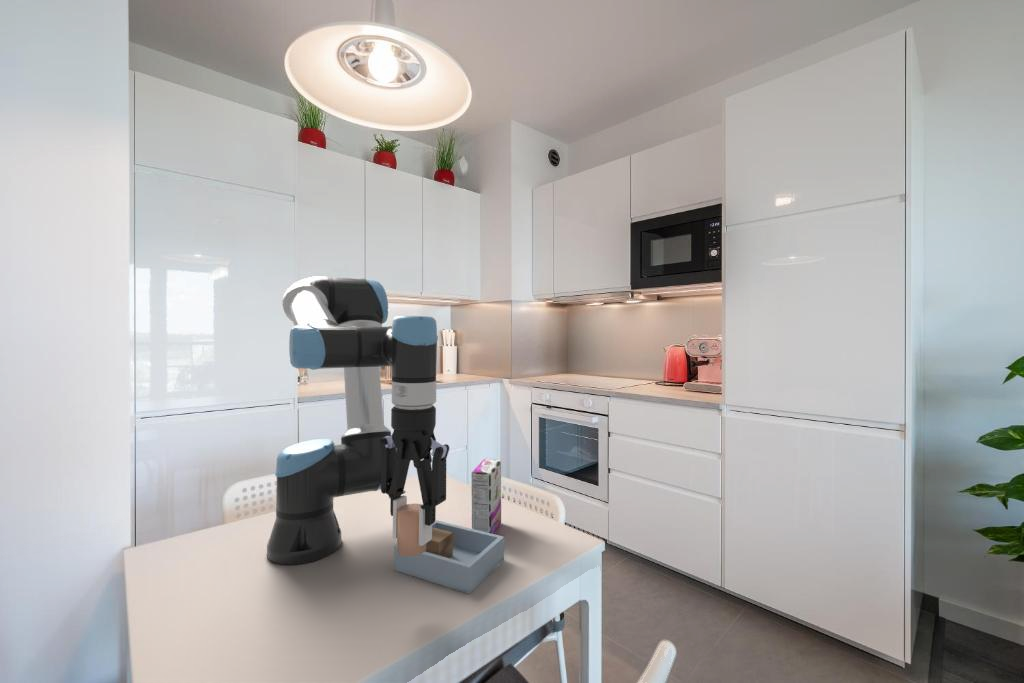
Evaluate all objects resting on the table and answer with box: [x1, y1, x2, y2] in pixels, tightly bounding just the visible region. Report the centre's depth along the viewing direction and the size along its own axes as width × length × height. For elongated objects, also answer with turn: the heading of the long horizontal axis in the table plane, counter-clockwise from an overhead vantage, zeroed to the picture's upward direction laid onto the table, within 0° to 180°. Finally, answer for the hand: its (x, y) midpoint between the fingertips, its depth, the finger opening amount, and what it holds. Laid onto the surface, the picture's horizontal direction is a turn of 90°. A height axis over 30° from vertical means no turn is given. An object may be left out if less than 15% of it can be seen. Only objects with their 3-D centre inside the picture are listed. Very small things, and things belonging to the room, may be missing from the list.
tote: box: [393, 519, 505, 595], centre depth 92 cm, size 18×14×5 cm
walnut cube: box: [425, 528, 453, 558], centre depth 94 cm, size 5×5×5 cm
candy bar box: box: [471, 458, 502, 535], centre depth 108 cm, size 11×5×16 cm, turn 168°
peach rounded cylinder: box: [396, 503, 427, 556], centre depth 77 cm, size 5×5×7 cm
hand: (412, 537), depth 77 cm, fingers closed on peach rounded cylinder, 5 cm apart
